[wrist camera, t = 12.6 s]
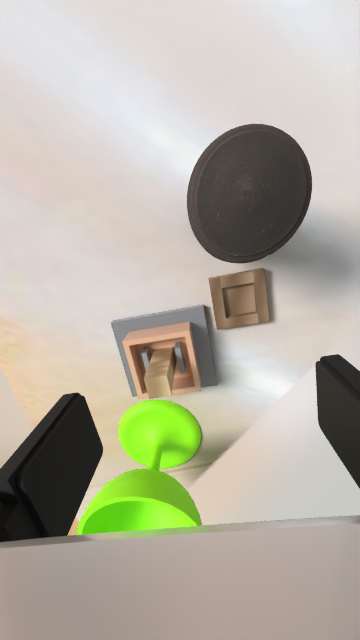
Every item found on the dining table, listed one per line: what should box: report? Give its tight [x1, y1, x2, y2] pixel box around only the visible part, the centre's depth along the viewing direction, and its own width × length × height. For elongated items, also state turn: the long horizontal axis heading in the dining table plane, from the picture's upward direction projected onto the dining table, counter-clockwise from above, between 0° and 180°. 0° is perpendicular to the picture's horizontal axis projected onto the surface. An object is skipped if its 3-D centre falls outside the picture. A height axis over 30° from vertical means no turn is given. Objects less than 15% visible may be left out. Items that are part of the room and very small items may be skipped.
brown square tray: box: [209, 268, 269, 330], centre depth 38 cm, size 8×8×2 cm
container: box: [187, 124, 312, 263], centre depth 26 cm, size 9×9×20 cm
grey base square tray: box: [111, 305, 217, 399], centre depth 40 cm, size 15×14×5 cm
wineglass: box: [77, 400, 202, 535], centre depth 39 cm, size 16×16×18 cm
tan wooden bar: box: [144, 346, 176, 399], centre depth 36 cm, size 3×3×9 cm
